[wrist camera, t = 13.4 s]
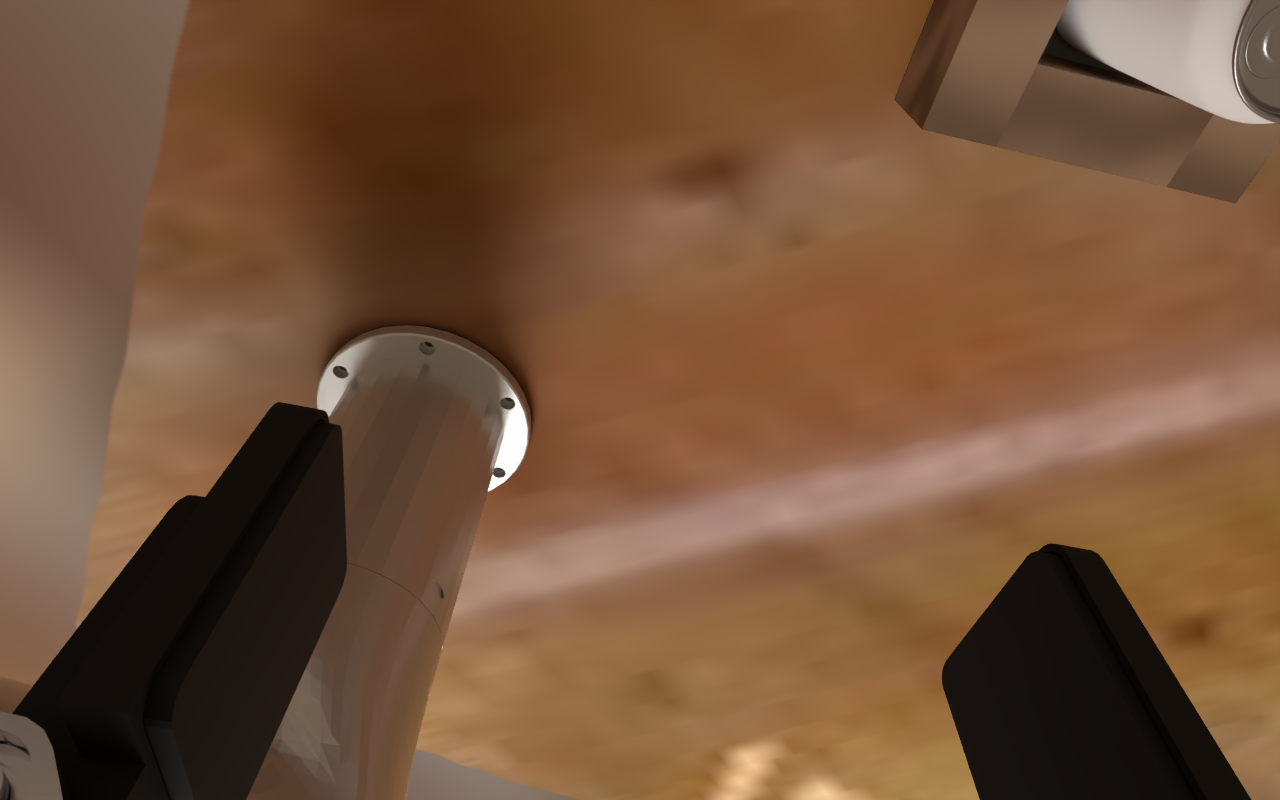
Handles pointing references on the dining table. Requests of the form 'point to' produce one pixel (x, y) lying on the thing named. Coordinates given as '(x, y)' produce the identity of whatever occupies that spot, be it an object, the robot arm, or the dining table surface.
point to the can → (1188, 49)
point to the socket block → (1068, 102)
